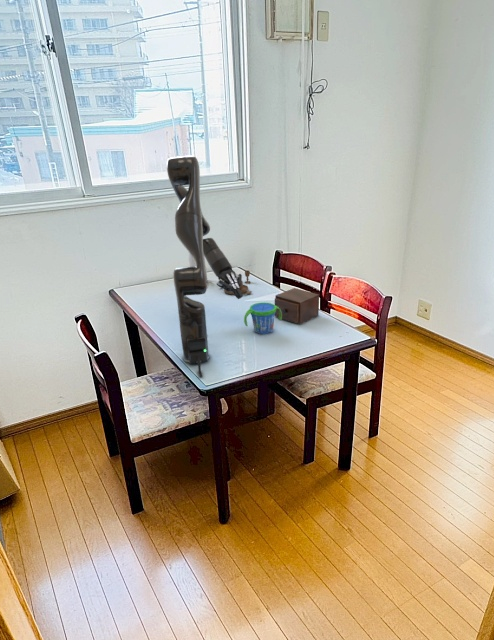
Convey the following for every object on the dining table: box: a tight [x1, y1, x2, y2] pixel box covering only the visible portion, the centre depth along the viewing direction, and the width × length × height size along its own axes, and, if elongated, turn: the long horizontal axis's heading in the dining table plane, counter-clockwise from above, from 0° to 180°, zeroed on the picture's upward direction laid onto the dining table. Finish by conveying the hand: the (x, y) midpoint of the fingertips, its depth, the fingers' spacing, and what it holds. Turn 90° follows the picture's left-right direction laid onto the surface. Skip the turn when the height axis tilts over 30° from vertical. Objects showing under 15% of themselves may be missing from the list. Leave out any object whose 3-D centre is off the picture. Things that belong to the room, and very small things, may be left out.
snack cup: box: [243, 302, 283, 335], centre depth 198 cm, size 16×10×10 cm
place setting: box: [219, 270, 252, 296], centre depth 244 cm, size 18×20×6 cm
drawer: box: [274, 298, 299, 324], centre depth 210 cm, size 13×12×8 cm
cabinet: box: [274, 287, 320, 325], centre depth 211 cm, size 13×14×10 cm
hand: (240, 297), depth 203 cm, fingers closed
